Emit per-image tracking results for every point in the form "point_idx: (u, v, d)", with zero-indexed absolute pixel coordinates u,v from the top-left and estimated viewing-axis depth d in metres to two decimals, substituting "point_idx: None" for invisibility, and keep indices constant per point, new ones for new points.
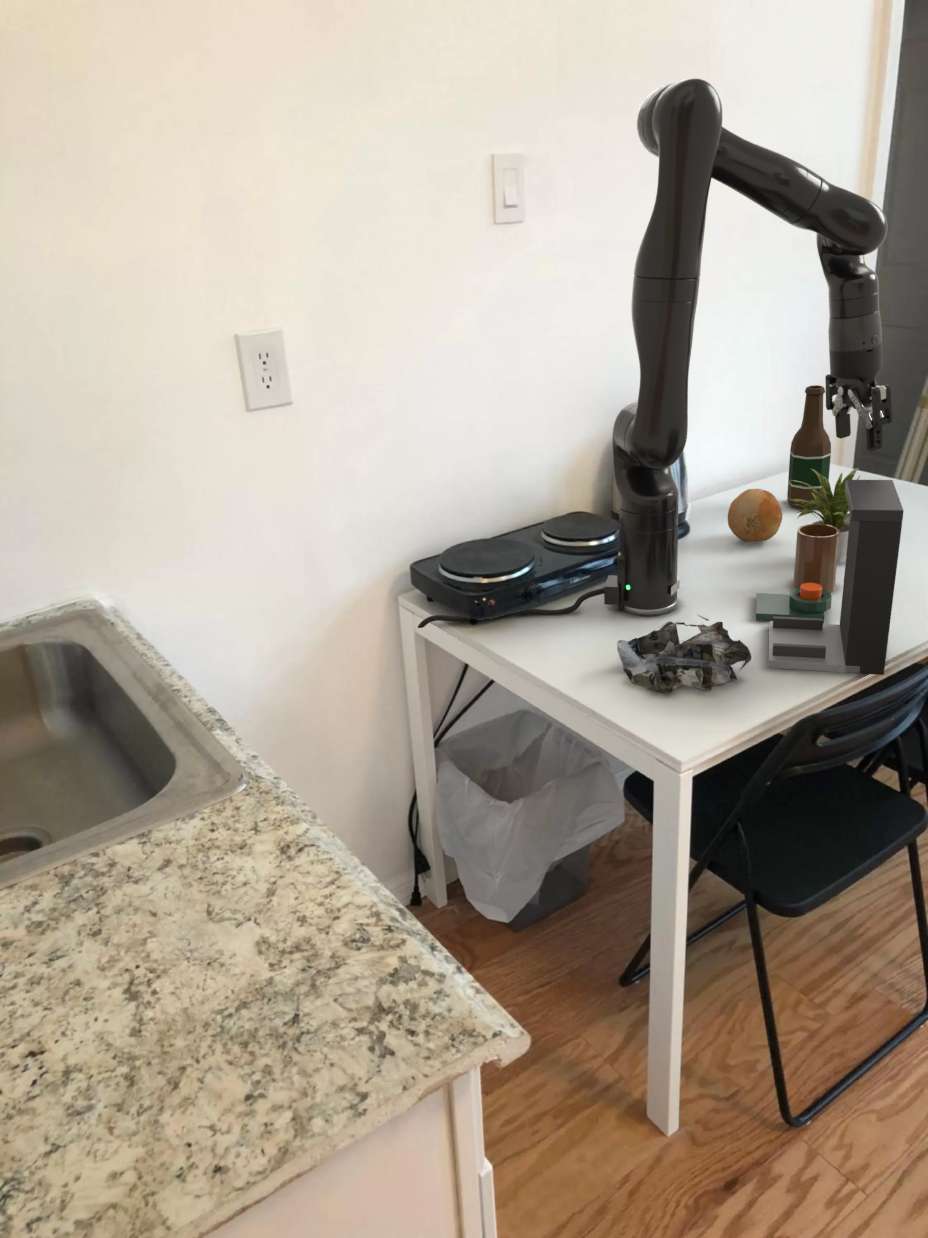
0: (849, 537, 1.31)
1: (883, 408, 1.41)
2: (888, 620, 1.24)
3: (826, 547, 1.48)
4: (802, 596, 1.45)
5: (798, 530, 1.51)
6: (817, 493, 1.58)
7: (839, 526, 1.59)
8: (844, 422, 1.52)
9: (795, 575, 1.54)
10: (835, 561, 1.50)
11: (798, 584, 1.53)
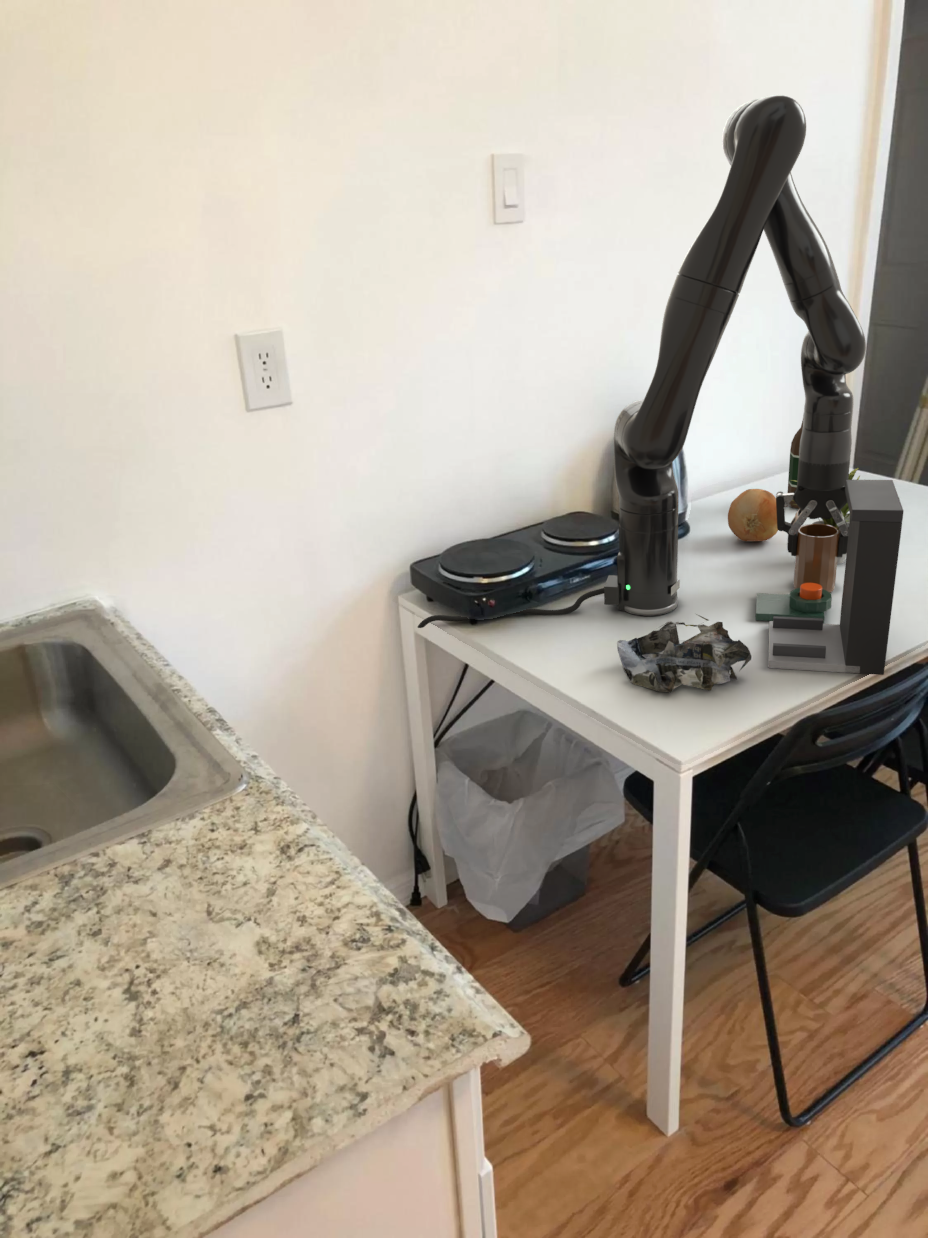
0: (849, 537, 1.31)
1: None
2: (888, 620, 1.24)
3: (826, 547, 1.48)
4: (802, 596, 1.45)
5: (798, 530, 1.51)
6: None
7: None
8: None
9: (795, 575, 1.54)
10: (835, 561, 1.50)
11: (798, 584, 1.53)
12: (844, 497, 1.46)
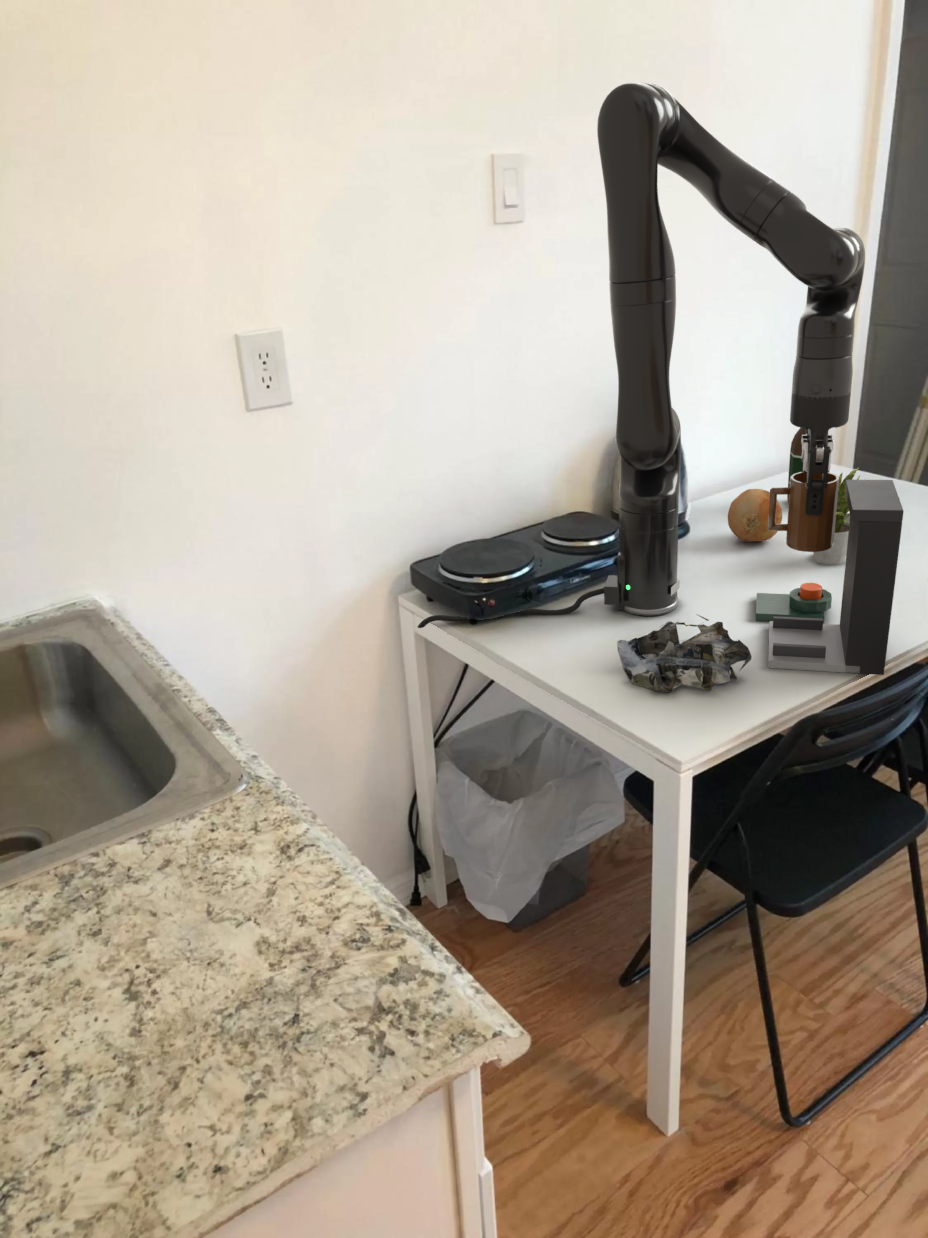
0: (849, 537, 1.31)
1: None
2: (888, 620, 1.24)
3: None
4: (802, 596, 1.45)
5: None
6: None
7: (839, 526, 1.59)
8: None
9: (819, 535, 1.31)
10: None
11: (825, 542, 1.32)
12: None
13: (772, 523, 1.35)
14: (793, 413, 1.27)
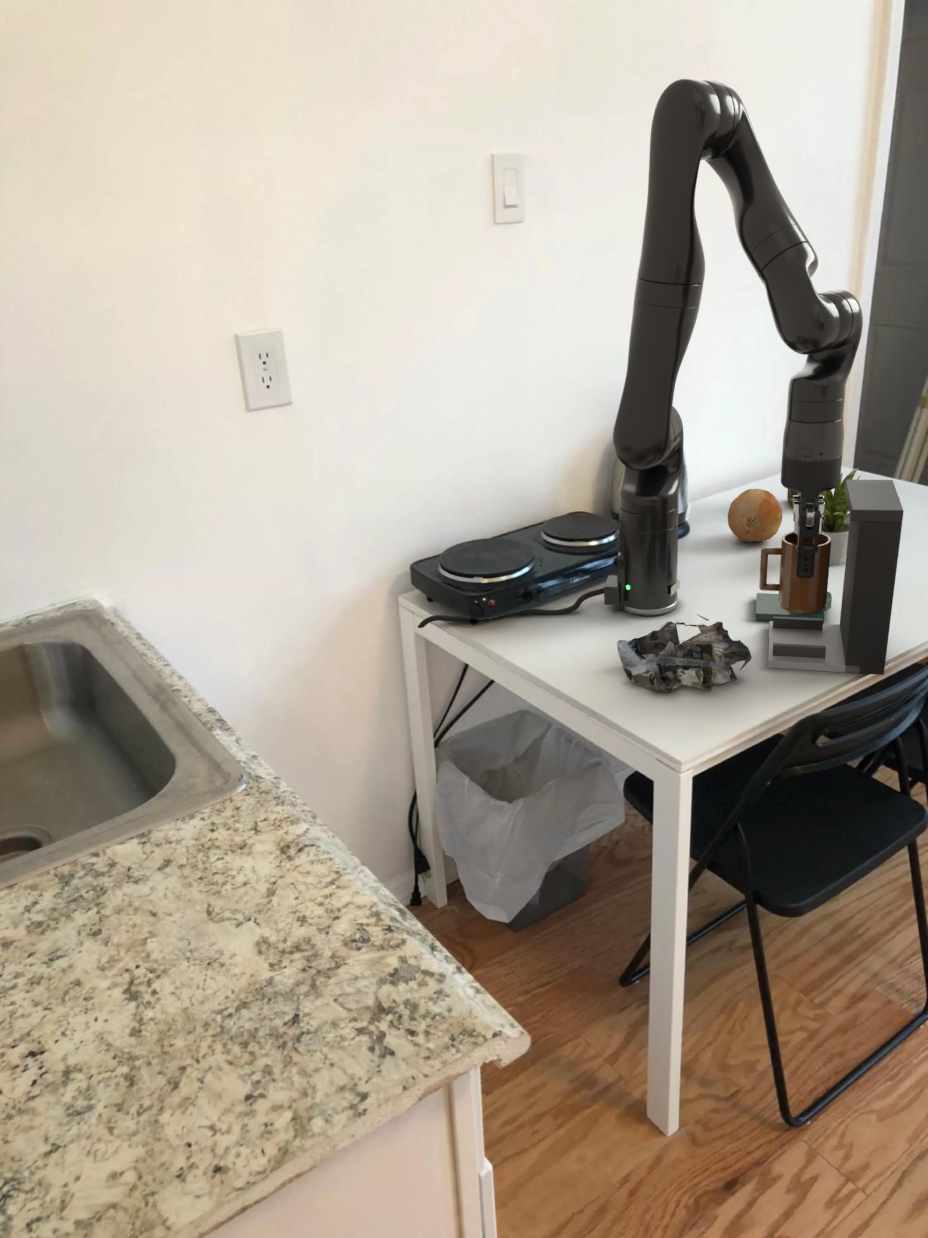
0: (849, 537, 1.31)
1: None
2: (888, 620, 1.24)
3: None
4: None
5: None
6: None
7: (839, 526, 1.59)
8: None
9: (811, 597, 1.29)
10: None
11: (817, 604, 1.30)
12: None
13: (763, 583, 1.33)
14: (784, 475, 1.24)
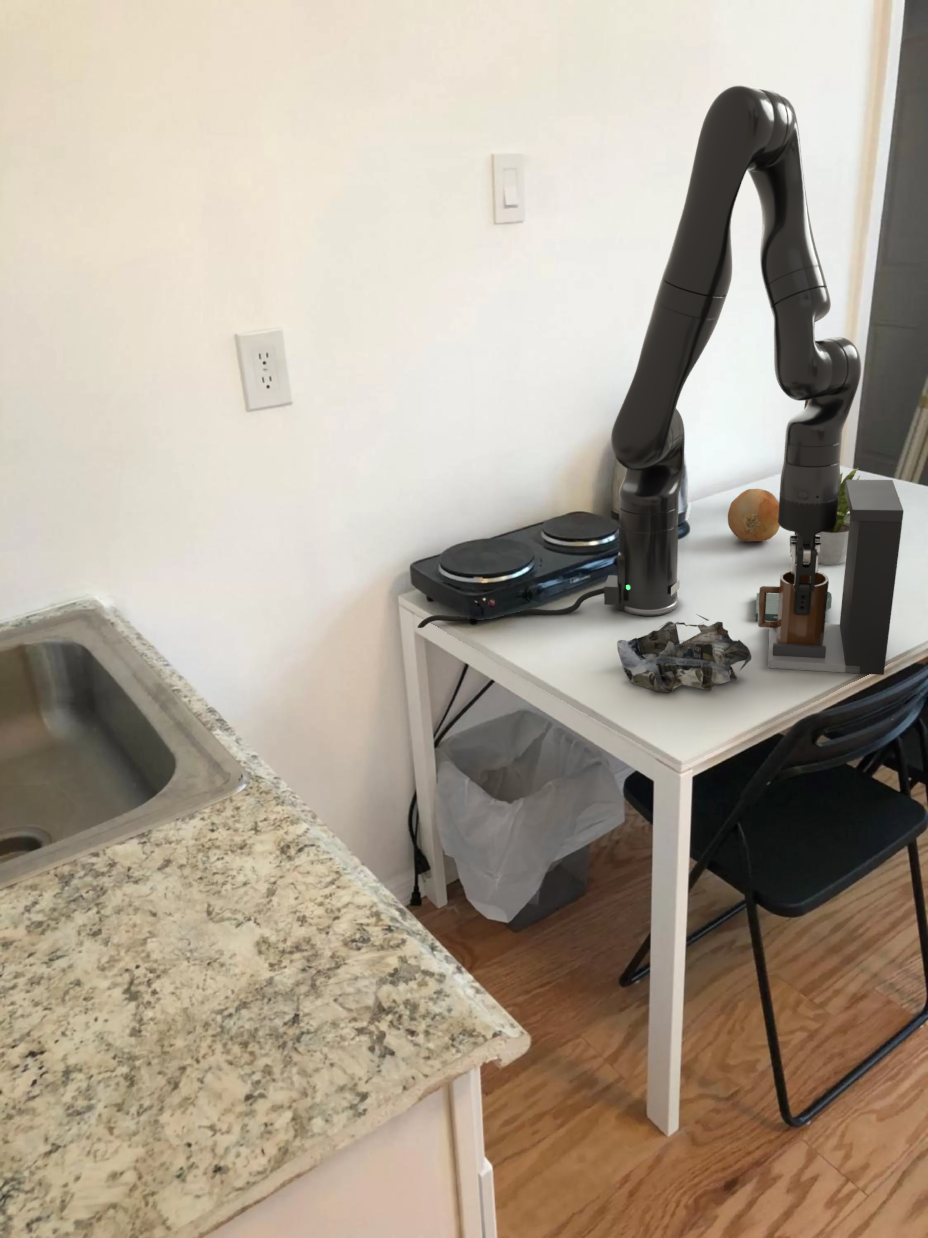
0: (849, 537, 1.31)
1: None
2: (888, 620, 1.24)
3: None
4: None
5: None
6: None
7: (839, 526, 1.59)
8: None
9: (808, 636, 1.31)
10: None
11: (815, 642, 1.32)
12: None
13: (762, 620, 1.35)
14: (781, 516, 1.27)
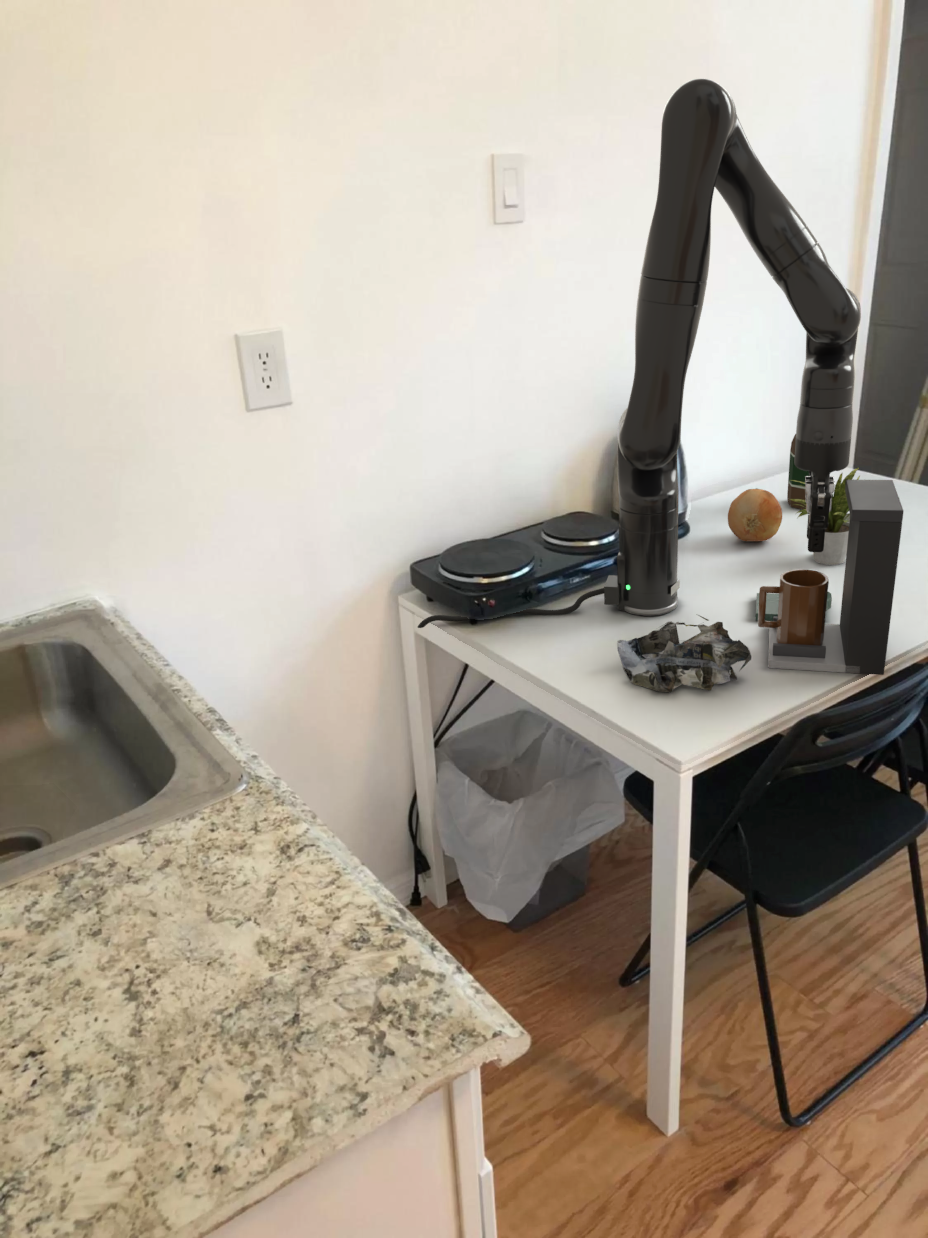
0: (849, 537, 1.31)
1: None
2: (888, 620, 1.24)
3: None
4: None
5: (806, 586, 1.28)
6: None
7: (839, 526, 1.59)
8: None
9: (808, 636, 1.31)
10: None
11: (815, 642, 1.32)
12: None
13: (762, 620, 1.35)
14: (797, 456, 1.35)
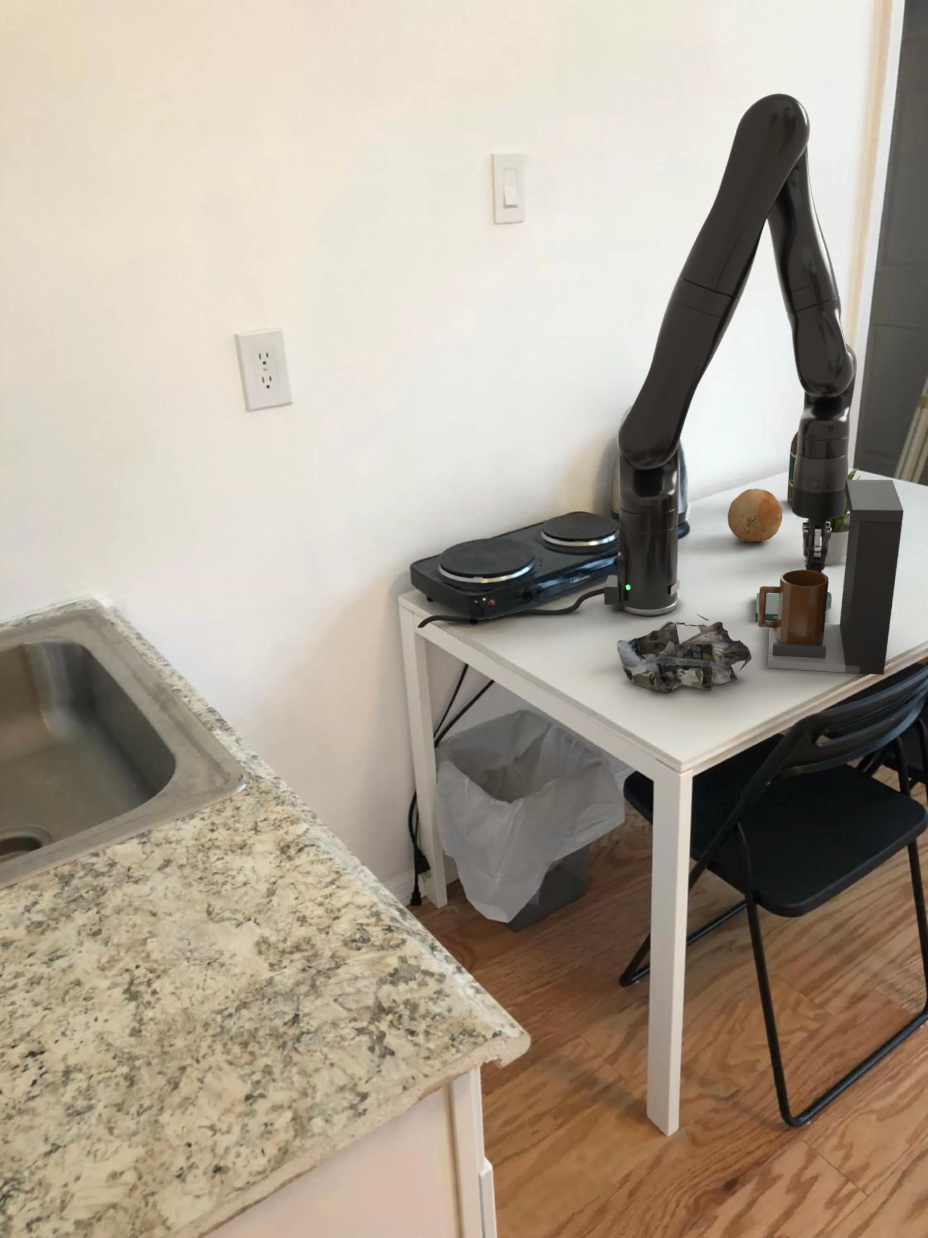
0: (849, 537, 1.31)
1: None
2: (888, 620, 1.24)
3: None
4: None
5: (806, 586, 1.28)
6: None
7: (839, 526, 1.59)
8: None
9: (808, 636, 1.31)
10: None
11: (815, 642, 1.32)
12: None
13: (762, 620, 1.35)
14: (794, 504, 1.38)
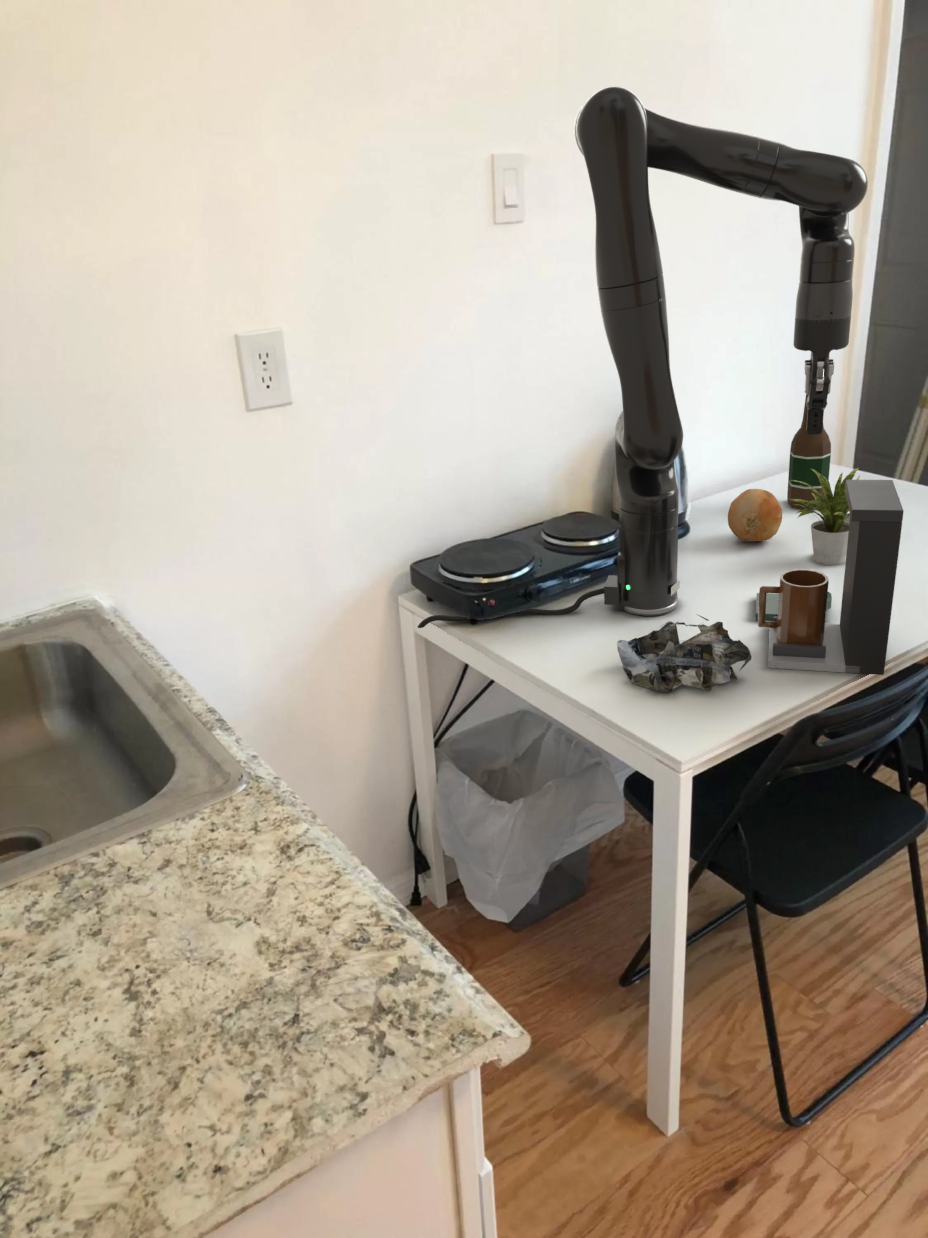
0: (849, 537, 1.31)
1: None
2: (888, 620, 1.24)
3: None
4: None
5: (806, 586, 1.28)
6: (817, 493, 1.58)
7: (839, 526, 1.59)
8: None
9: (808, 636, 1.31)
10: None
11: (815, 642, 1.32)
12: None
13: (762, 620, 1.35)
14: (796, 336, 1.34)
